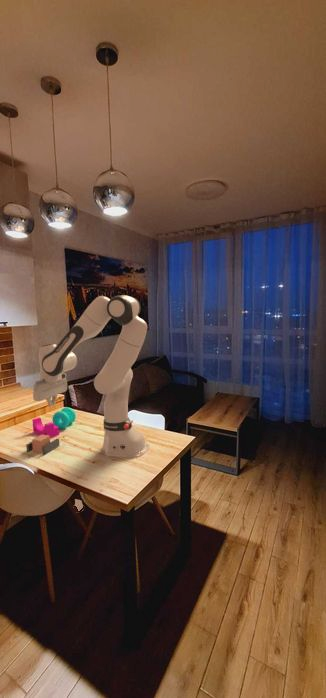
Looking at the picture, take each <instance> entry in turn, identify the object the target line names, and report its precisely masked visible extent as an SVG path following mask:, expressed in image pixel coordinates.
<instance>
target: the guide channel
mask: <svg viewBox="0 0 326 698" xmlns="http://www.w3.org/2000/svg"><path fill="white" fill-rule="evenodd" d="M25 447H26V452H27V453H30V452H31V451H32V452H33V445H32V441H30V442H29V443H27V444H25ZM58 447H60V438H56V439H53V440H52V441H50V443H49V444H47V445H45V446H43V447H42V452H43V453H42V455H44V456H45V455H47V454H49V453H50V452H52V451H54V450H55V449H57V448H58Z"/></svg>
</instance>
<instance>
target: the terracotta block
mask: <svg viewBox="0 0 326 698" xmlns="http://www.w3.org/2000/svg"><path fill="white" fill-rule="evenodd" d="M31 442H32V445H33V450H32V452H33V453H38V454H43V452H42V447H43V446H45V445H47V444H49V443H50V442H51V438H50V436H48V435H37V436H36V437H34V438H32V439H31Z"/></svg>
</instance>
